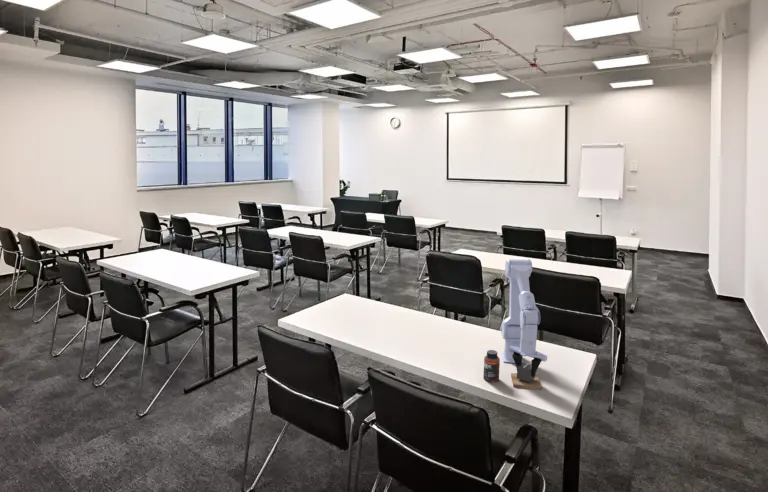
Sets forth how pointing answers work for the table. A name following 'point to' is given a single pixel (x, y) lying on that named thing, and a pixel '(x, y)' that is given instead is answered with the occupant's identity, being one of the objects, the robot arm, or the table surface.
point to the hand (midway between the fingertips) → (526, 373)
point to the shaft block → (525, 382)
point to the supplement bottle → (491, 366)
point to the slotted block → (525, 372)
